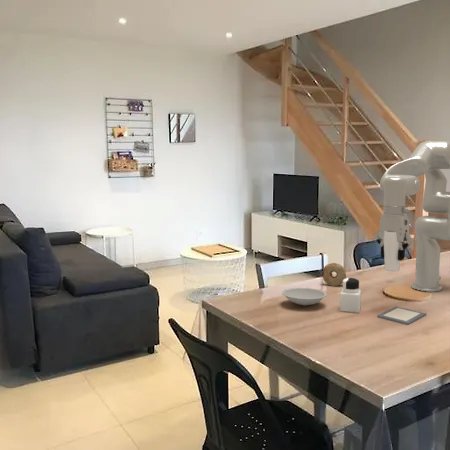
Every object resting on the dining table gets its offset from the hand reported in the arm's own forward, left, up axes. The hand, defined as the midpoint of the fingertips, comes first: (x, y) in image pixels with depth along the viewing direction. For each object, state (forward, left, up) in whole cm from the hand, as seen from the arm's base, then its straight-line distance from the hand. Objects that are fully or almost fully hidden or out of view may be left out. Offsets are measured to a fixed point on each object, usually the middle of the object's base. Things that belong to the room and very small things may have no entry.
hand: (392, 258), depth 191 cm
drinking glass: (0, 0, -5) cm, 5 cm away
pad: (+2, +5, -21) cm, 21 cm away
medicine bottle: (+8, -13, -21) cm, 26 cm away
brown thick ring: (-15, -36, -21) cm, 44 cm away
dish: (+16, -29, -21) cm, 39 cm away
